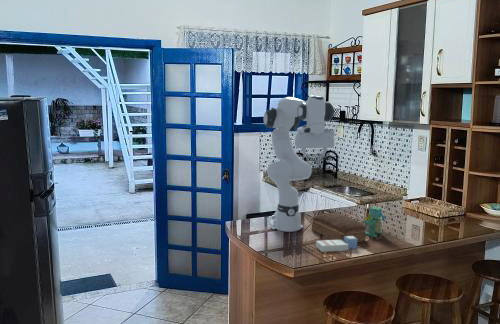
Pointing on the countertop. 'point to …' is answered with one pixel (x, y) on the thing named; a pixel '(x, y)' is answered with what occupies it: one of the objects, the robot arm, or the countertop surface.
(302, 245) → the countertop surface
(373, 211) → the toy
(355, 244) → the light blue cube
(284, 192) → the robot arm
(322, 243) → the white flat box
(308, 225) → the countertop surface
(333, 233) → the bread
